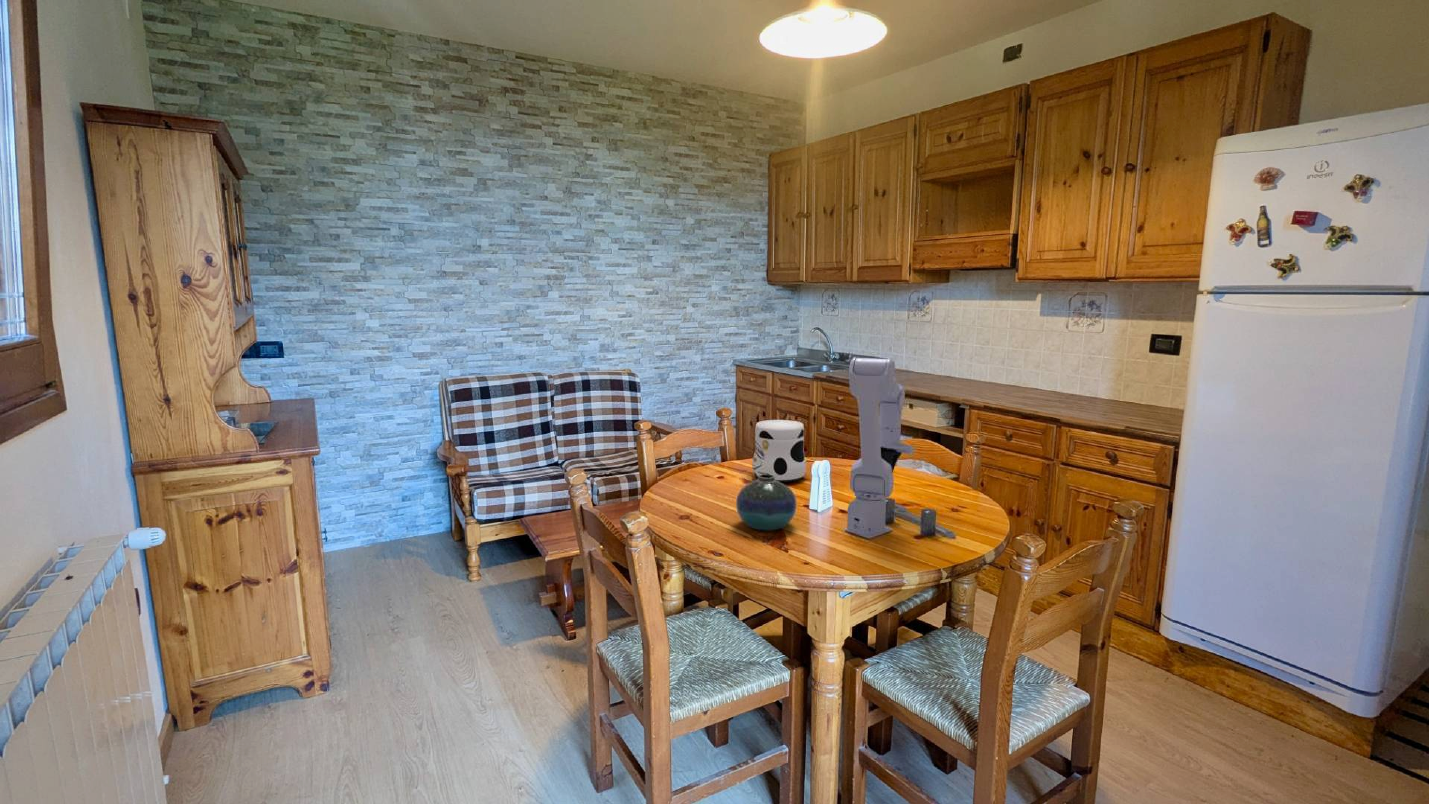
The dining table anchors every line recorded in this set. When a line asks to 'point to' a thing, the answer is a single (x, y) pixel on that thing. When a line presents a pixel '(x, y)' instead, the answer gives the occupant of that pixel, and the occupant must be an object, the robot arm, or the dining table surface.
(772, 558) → the dining table surface
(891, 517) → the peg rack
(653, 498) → the dining table surface
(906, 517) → the adjustable wrench
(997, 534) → the dining table surface
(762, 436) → the milk container
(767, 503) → the vase
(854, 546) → the dining table surface
